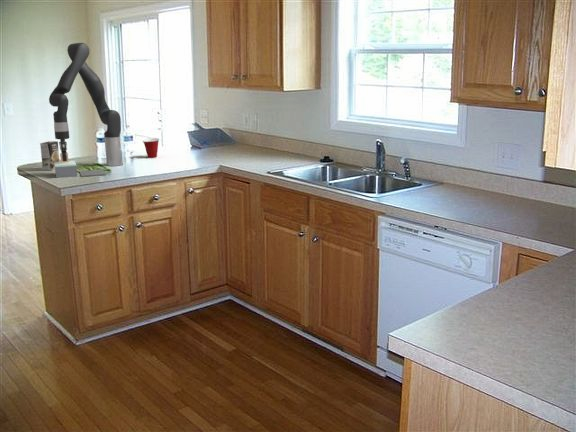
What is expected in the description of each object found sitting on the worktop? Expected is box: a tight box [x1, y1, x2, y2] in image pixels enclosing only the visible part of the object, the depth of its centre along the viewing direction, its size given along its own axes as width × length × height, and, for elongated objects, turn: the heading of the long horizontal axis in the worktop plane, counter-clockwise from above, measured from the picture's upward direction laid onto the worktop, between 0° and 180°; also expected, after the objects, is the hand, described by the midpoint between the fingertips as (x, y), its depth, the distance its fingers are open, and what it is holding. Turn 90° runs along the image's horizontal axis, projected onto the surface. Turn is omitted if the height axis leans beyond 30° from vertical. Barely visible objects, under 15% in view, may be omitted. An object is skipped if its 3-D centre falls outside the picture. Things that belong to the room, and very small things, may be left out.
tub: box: [54, 165, 78, 179], centre depth 347 cm, size 11×13×6 cm
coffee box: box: [39, 140, 61, 172], centre depth 363 cm, size 9×6×16 cm
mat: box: [79, 169, 106, 178], centre depth 351 cm, size 13×15×1 cm
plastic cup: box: [142, 137, 160, 159], centre depth 402 cm, size 11×11×12 cm
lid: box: [54, 152, 77, 167], centre depth 345 cm, size 11×13×7 cm
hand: (64, 160), depth 349 cm, fingers open, 4 cm apart
